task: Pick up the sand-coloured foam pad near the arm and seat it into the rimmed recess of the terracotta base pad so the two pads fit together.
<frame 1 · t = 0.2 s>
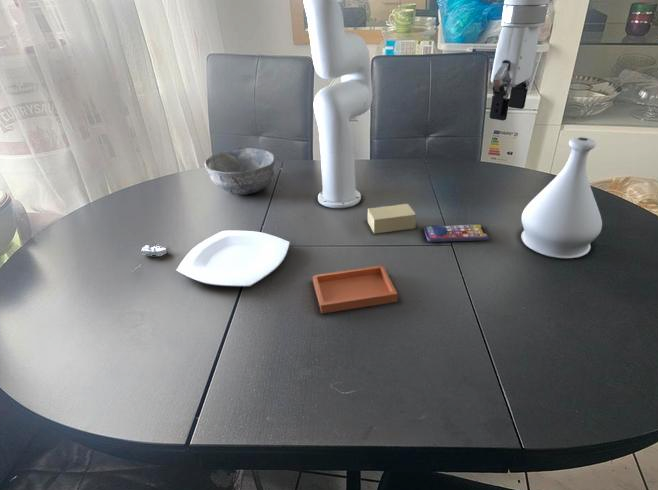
hand: (507, 113, 90), 31 cm above the table, tool pointing down, fingers open, 9 cm apart
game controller: (146, 261, 106), on the table
foam pad: (391, 225, 117), on the table
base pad: (353, 292, 94), on the table
bowl: (245, 190, 138), on the table
vase: (554, 241, 108), on the table
smartphone: (454, 234, 112), on the table
plate: (236, 263, 104), on the table
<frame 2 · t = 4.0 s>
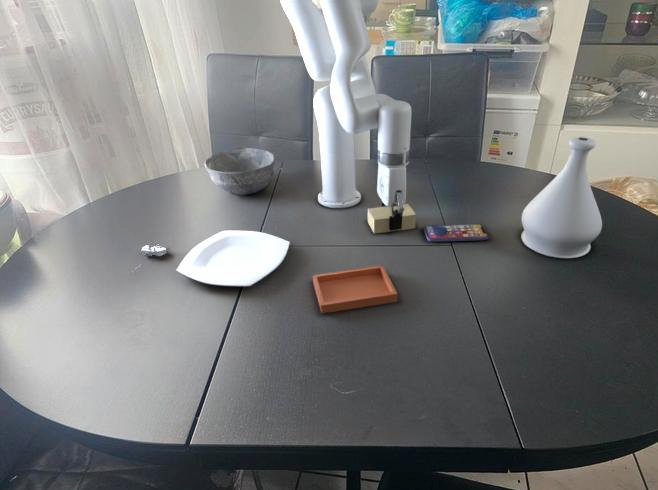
hand: (391, 222, 117), 1 cm above the table, tool pointing down, fingers closed on foam pad, 6 cm apart
foam pad: (391, 225, 117), on the table, touching gripper
everything else where it was.
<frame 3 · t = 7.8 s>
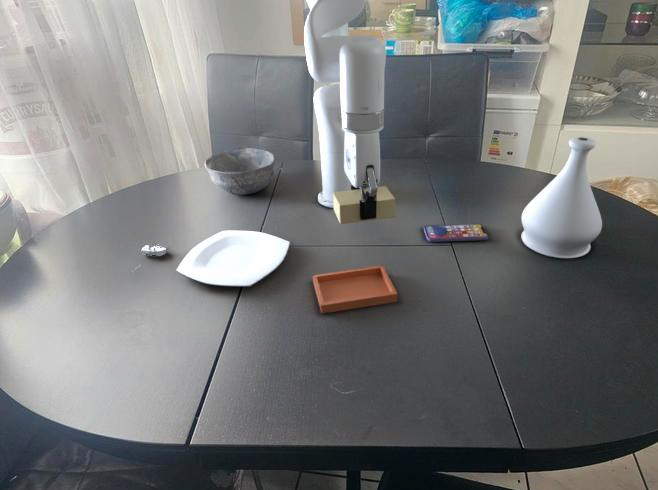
hand: (363, 209, 89), 16 cm above the table, tool pointing down, fingers closed on foam pad, 6 cm apart
foam pad: (363, 213, 90), point 15 cm above the table, touching gripper
everything else where it was.
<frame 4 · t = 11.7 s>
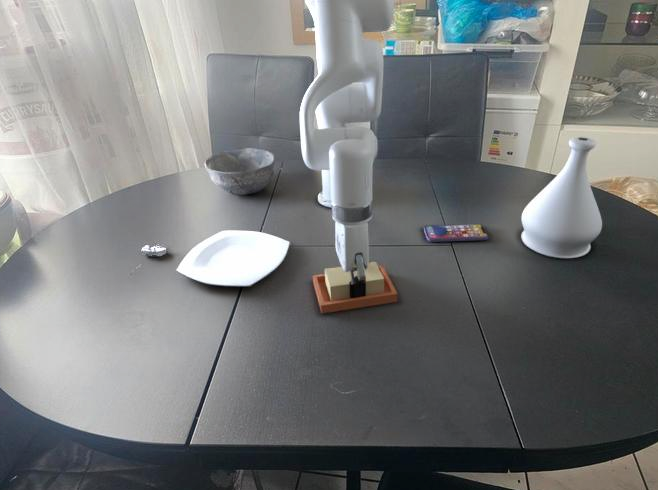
hand: (353, 286, 93), 2 cm above the table, tool pointing down, fingers closed on foam pad, 6 cm apart
foam pad: (354, 289, 93), point 1 cm above the table, touching gripper
everything else where it was.
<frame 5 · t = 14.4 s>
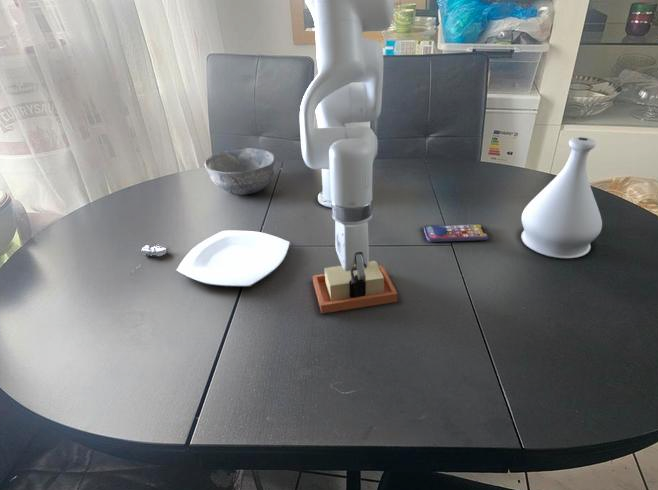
hand: (353, 285, 93), 2 cm above the table, tool pointing down, fingers closed on foam pad, 6 cm apart
foam pad: (353, 288, 93), point 1 cm above the table, touching gripper
everything else where it was.
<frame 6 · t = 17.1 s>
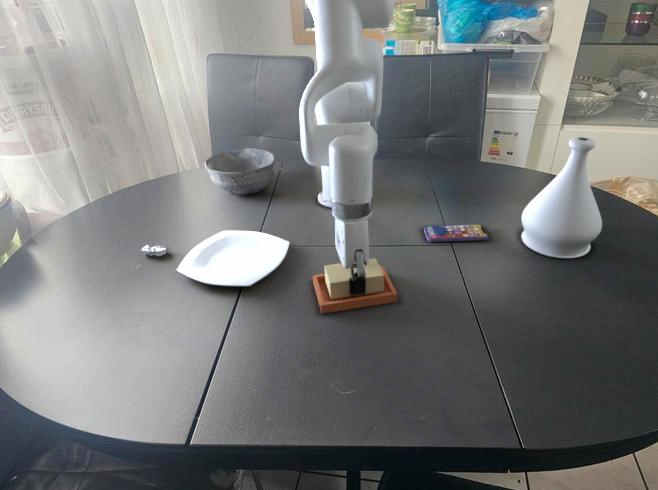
hand: (353, 282, 92), 2 cm above the table, tool pointing down, fingers closed on foam pad, 6 cm apart
foam pad: (353, 286, 93), point 1 cm above the table, touching gripper
everything else where it was.
when the fingers open (3 cm above the table, at t = 22.1 s): foam pad drops 1 cm, resting on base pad.
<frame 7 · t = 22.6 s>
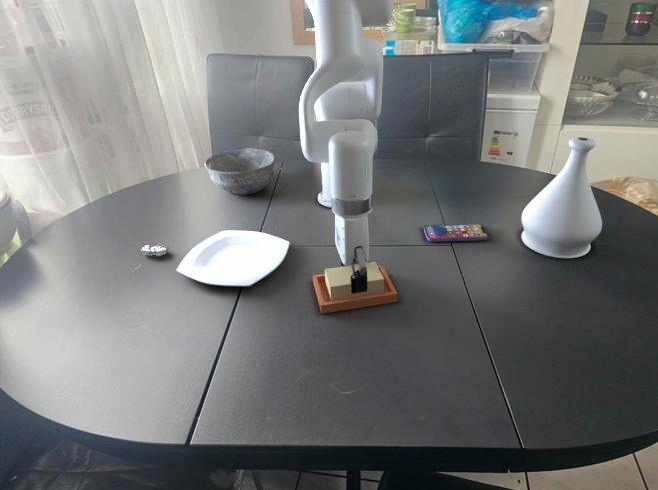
hand: (353, 277, 91), 4 cm above the table, tool pointing down, fingers open, 9 cm apart
foam pad: (354, 289, 93), point 1 cm above the table, touching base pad
everything else where it was.
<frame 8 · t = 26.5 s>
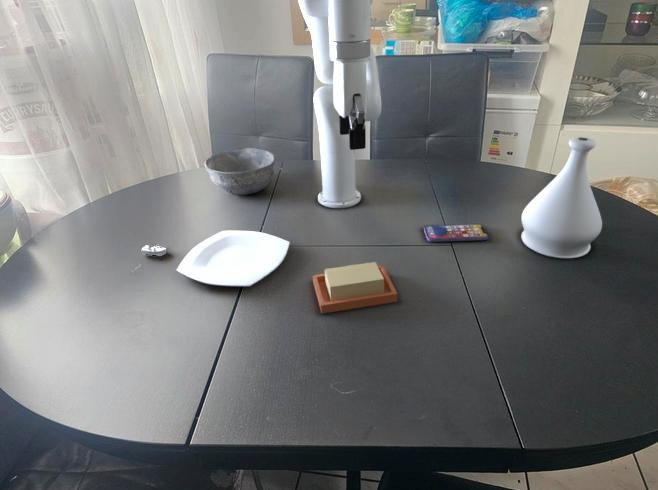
hand: (352, 141, 93), 26 cm above the table, tool pointing down, fingers open, 9 cm apart
nothing on the table moved.
at the end: foam pad 0.1 cm off-centre in the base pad, point 0.6 cm above the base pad's base; foam pad tilted 0°; the gripper is holding nothing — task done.
